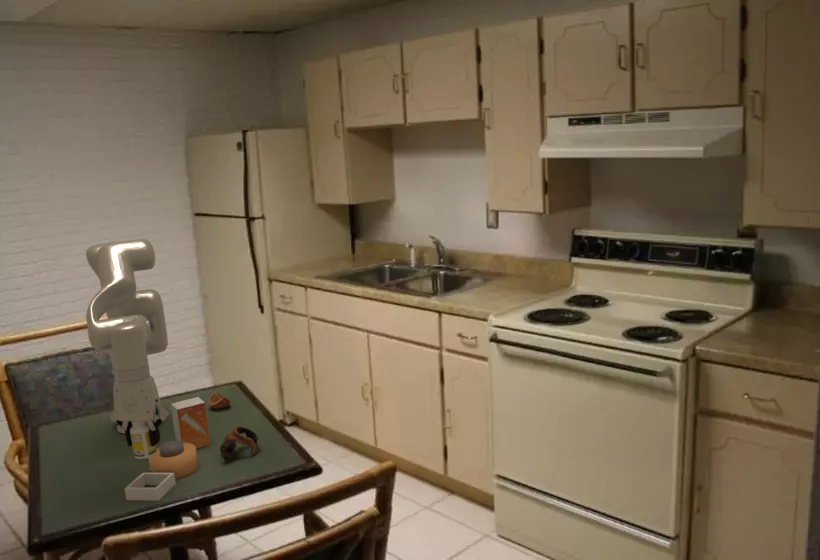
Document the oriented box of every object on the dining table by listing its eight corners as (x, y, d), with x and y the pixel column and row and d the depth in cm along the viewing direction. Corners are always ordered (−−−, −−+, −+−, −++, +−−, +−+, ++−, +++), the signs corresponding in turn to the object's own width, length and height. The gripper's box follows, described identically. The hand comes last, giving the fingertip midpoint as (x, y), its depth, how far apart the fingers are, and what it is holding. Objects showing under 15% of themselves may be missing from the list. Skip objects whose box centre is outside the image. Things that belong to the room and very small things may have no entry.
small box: (182, 453, 204) (176, 409, 201) (176, 446, 209) (169, 403, 207) (211, 445, 208) (205, 401, 206) (204, 438, 213) (198, 396, 211)
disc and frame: (119, 499, 179) (115, 473, 178) (165, 459, 201) (161, 435, 199) (165, 500, 177) (161, 473, 176) (205, 460, 199) (202, 435, 197)
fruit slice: (235, 408, 236) (233, 394, 235) (214, 414, 232) (212, 399, 231) (225, 402, 243) (223, 387, 242) (205, 407, 239) (203, 393, 238)
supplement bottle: (156, 448, 184) (150, 411, 182) (158, 456, 179) (152, 418, 177) (133, 453, 182) (127, 416, 180) (134, 461, 177) (128, 423, 175)
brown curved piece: (229, 447, 207) (241, 422, 206) (255, 465, 204) (268, 439, 203) (205, 455, 196) (218, 428, 195) (232, 473, 193) (245, 446, 192)
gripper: (91, 379, 174) (103, 450, 178) (158, 378, 171) (168, 450, 175) (109, 369, 181) (120, 437, 185) (173, 367, 178) (183, 437, 182)
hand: (143, 443), depth 180 cm, fingers closed on supplement bottle, 5 cm apart
